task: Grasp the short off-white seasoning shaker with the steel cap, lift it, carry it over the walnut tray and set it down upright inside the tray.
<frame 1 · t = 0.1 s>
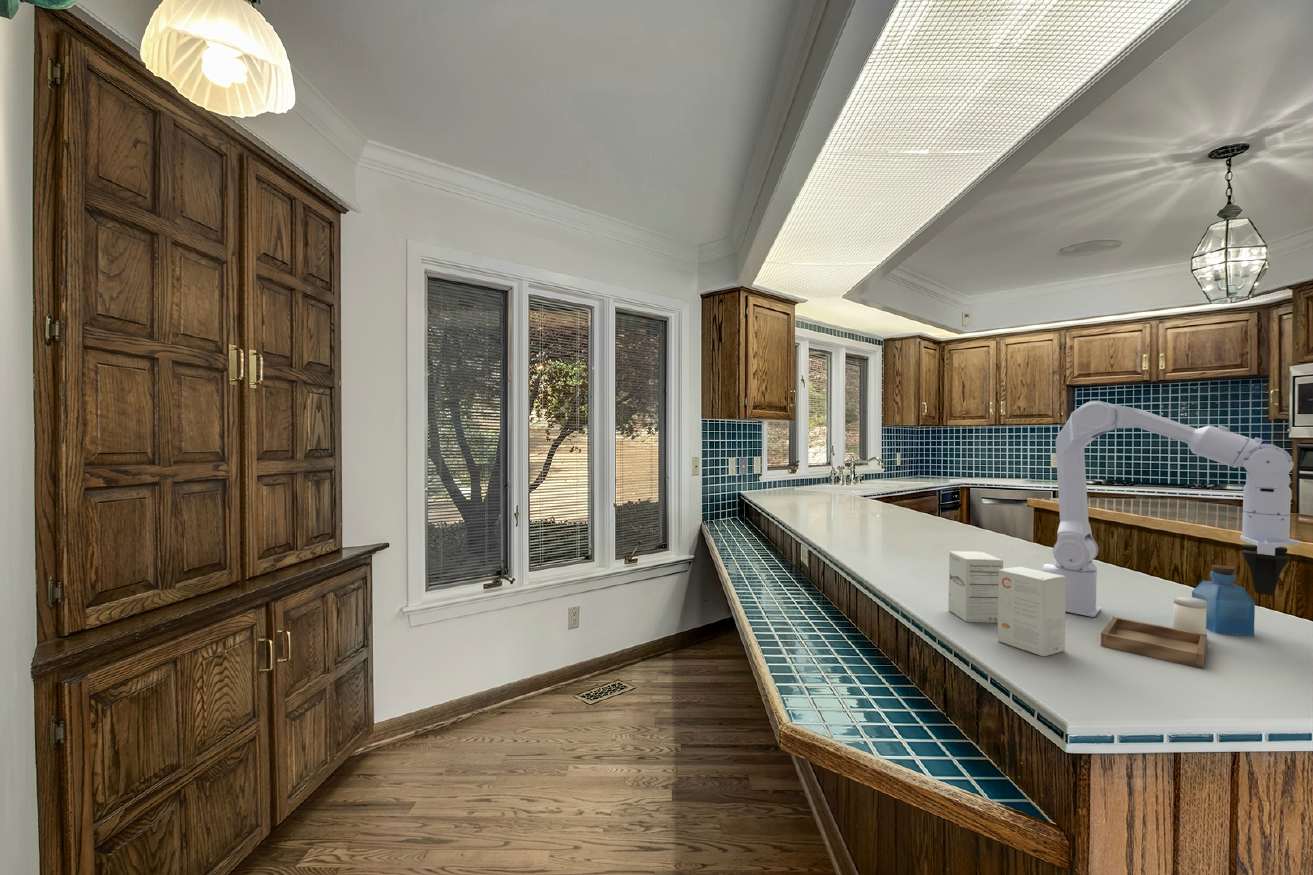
hand: (1263, 589, 101), 10 cm above the counter, tool pointing down, fingers open, 7 cm apart
small box: (1030, 647, 100), on the counter
perfume bottle: (1221, 629, 110), on the counter
shaker: (1189, 637, 105), on the counter
walnut tray: (1153, 646, 100), on the counter
supplement box: (974, 617, 115), on the counter
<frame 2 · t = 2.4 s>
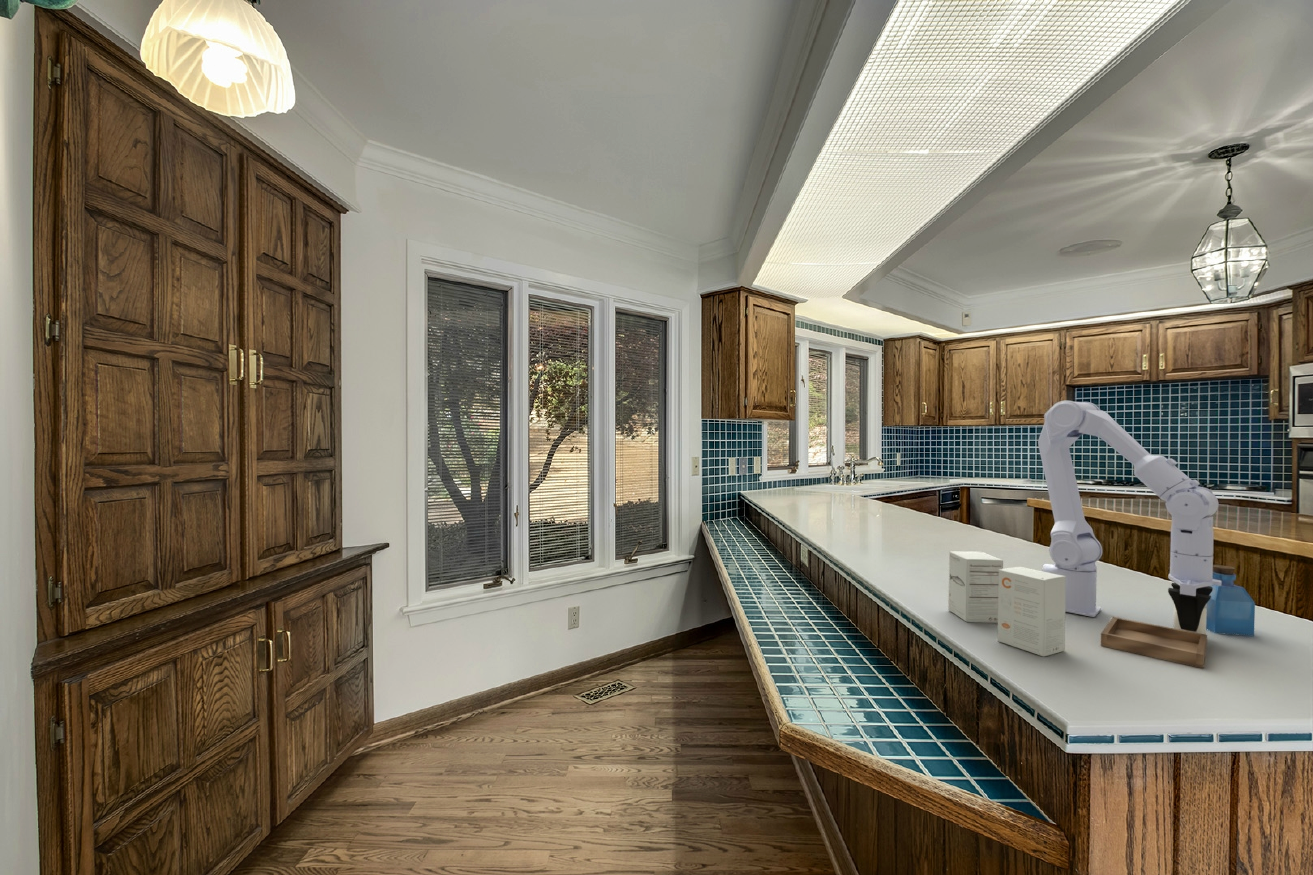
hand: (1189, 626, 105), 2 cm above the counter, tool pointing down, fingers closed on shaker, 4 cm apart
shaker: (1189, 637, 105), on the counter, touching gripper
everything else where it was.
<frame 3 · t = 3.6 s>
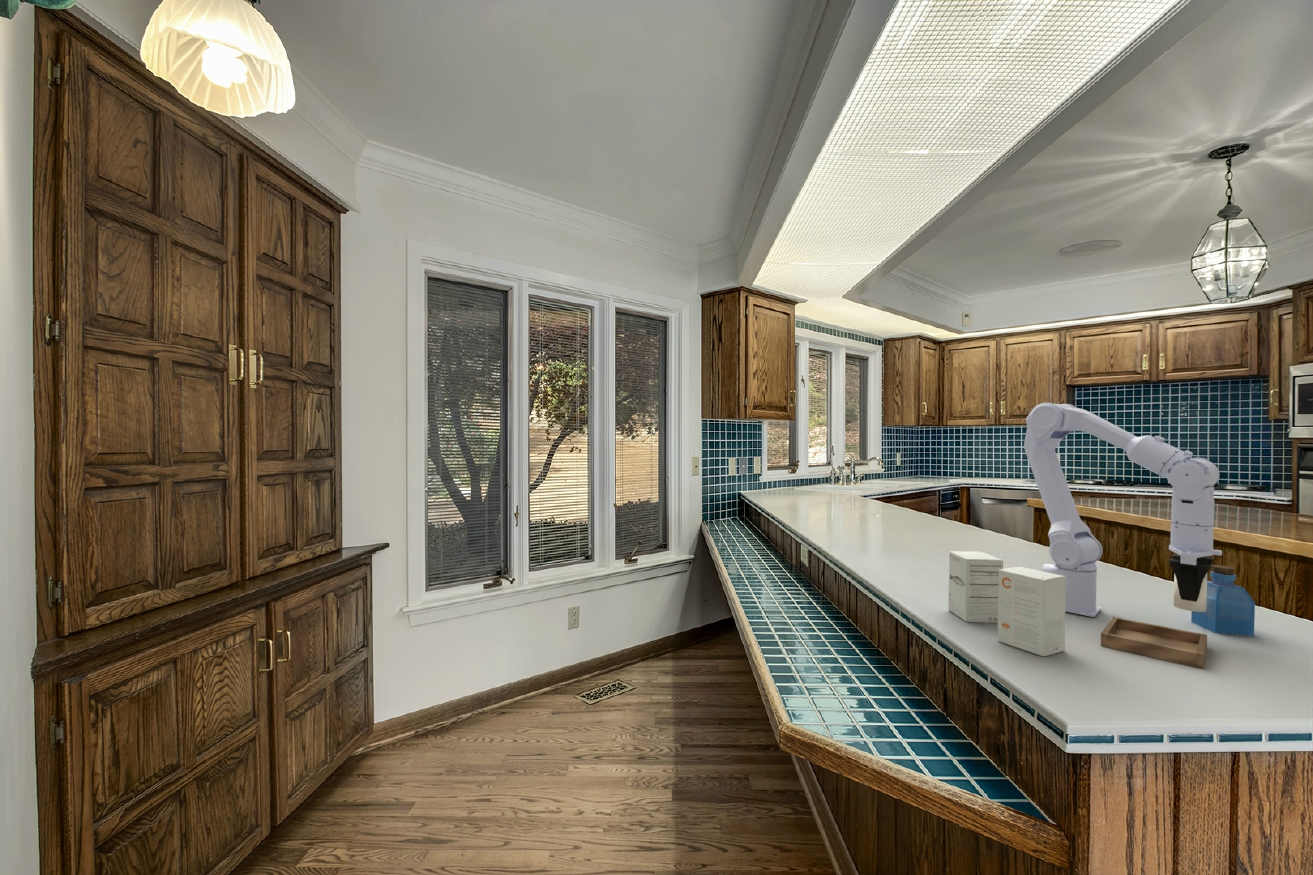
hand: (1189, 597, 105), 7 cm above the counter, tool pointing down, fingers closed on shaker, 4 cm apart
shaker: (1189, 607, 105), point 5 cm above the counter, touching gripper
everything else where it was.
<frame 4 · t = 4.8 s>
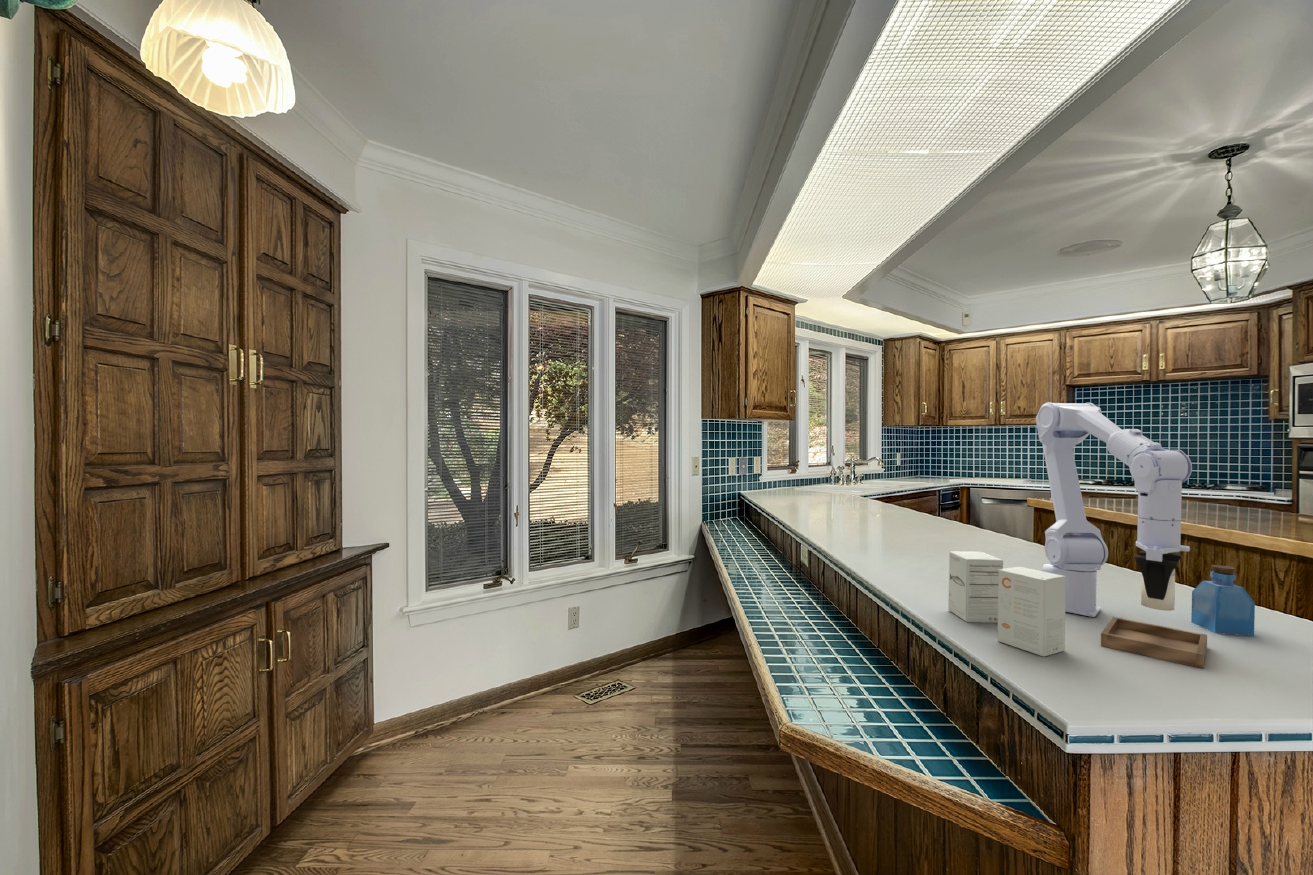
hand: (1157, 595, 100), 9 cm above the counter, tool pointing down, fingers closed on shaker, 4 cm apart
shaker: (1157, 606, 100), point 7 cm above the counter, touching gripper
everything else where it was.
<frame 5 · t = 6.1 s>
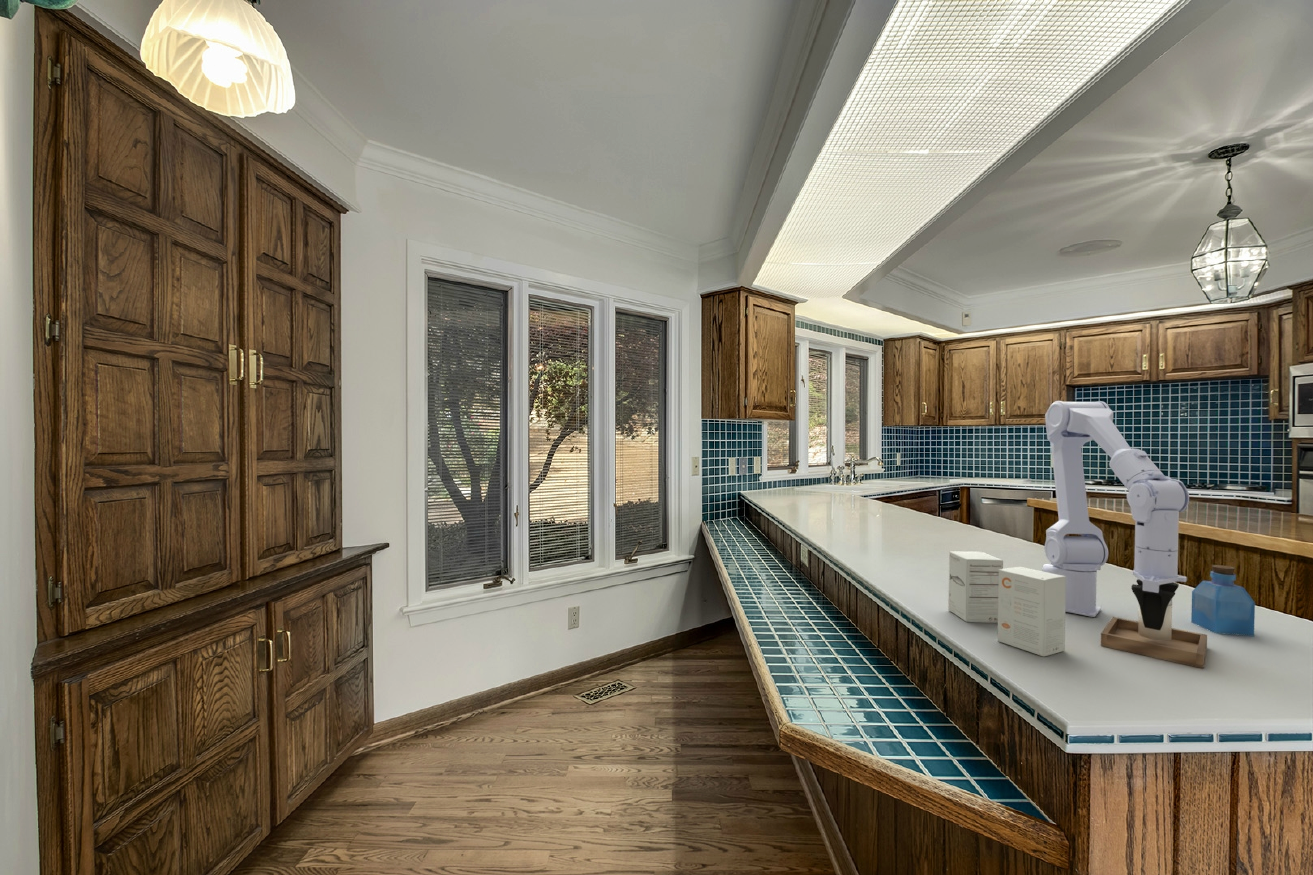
hand: (1154, 625, 100), 4 cm above the counter, tool pointing down, fingers closed on shaker, 4 cm apart
shaker: (1154, 636, 100), point 2 cm above the counter, touching gripper
everything else where it was.
when the fingers open (3 cm above the counter, at t = 7.1 s): shaker stays where it is, resting on walnut tray.
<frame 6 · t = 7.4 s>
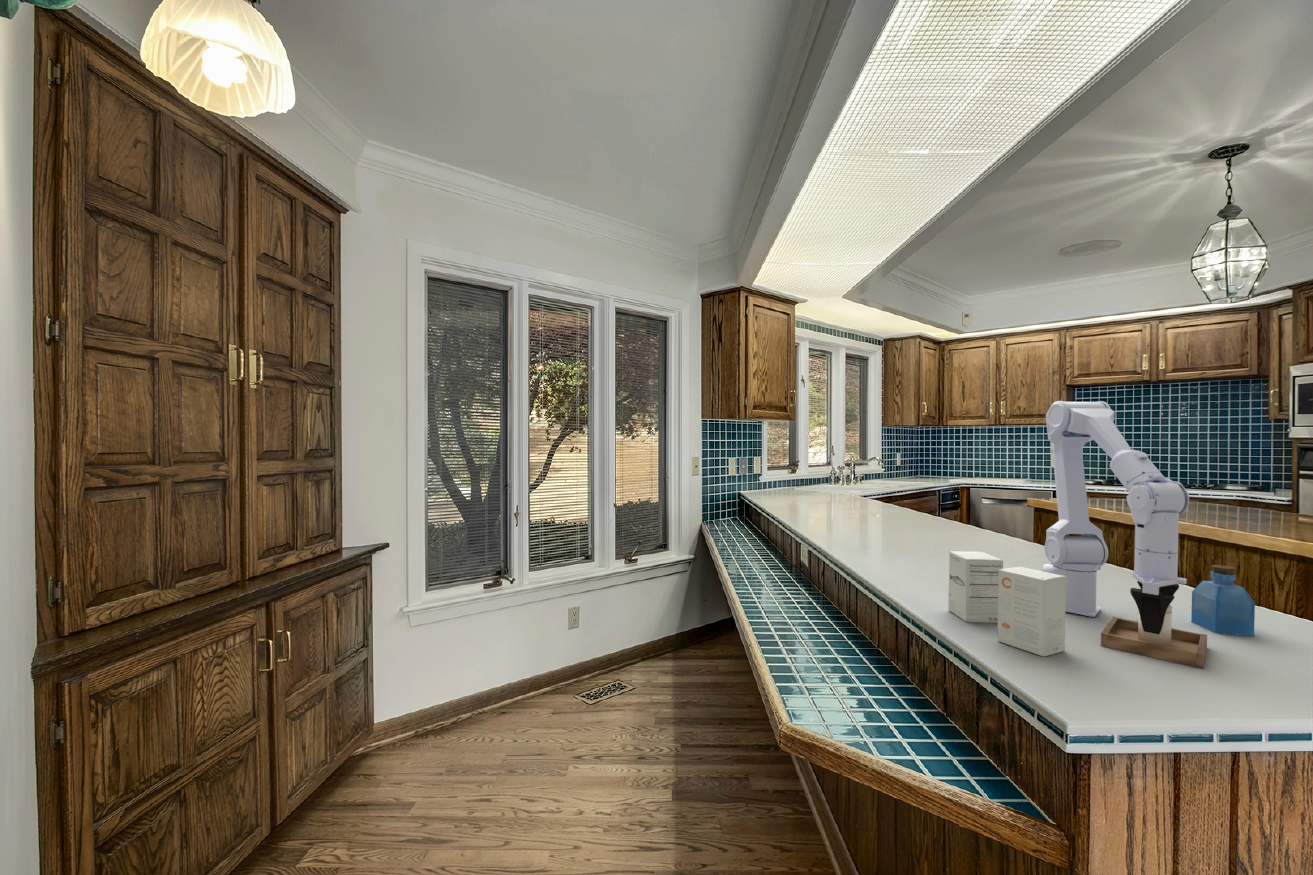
hand: (1154, 627, 100), 3 cm above the counter, tool pointing down, fingers open, 7 cm apart
shaker: (1154, 643, 100), point 1 cm above the counter, touching walnut tray
everything else where it was.
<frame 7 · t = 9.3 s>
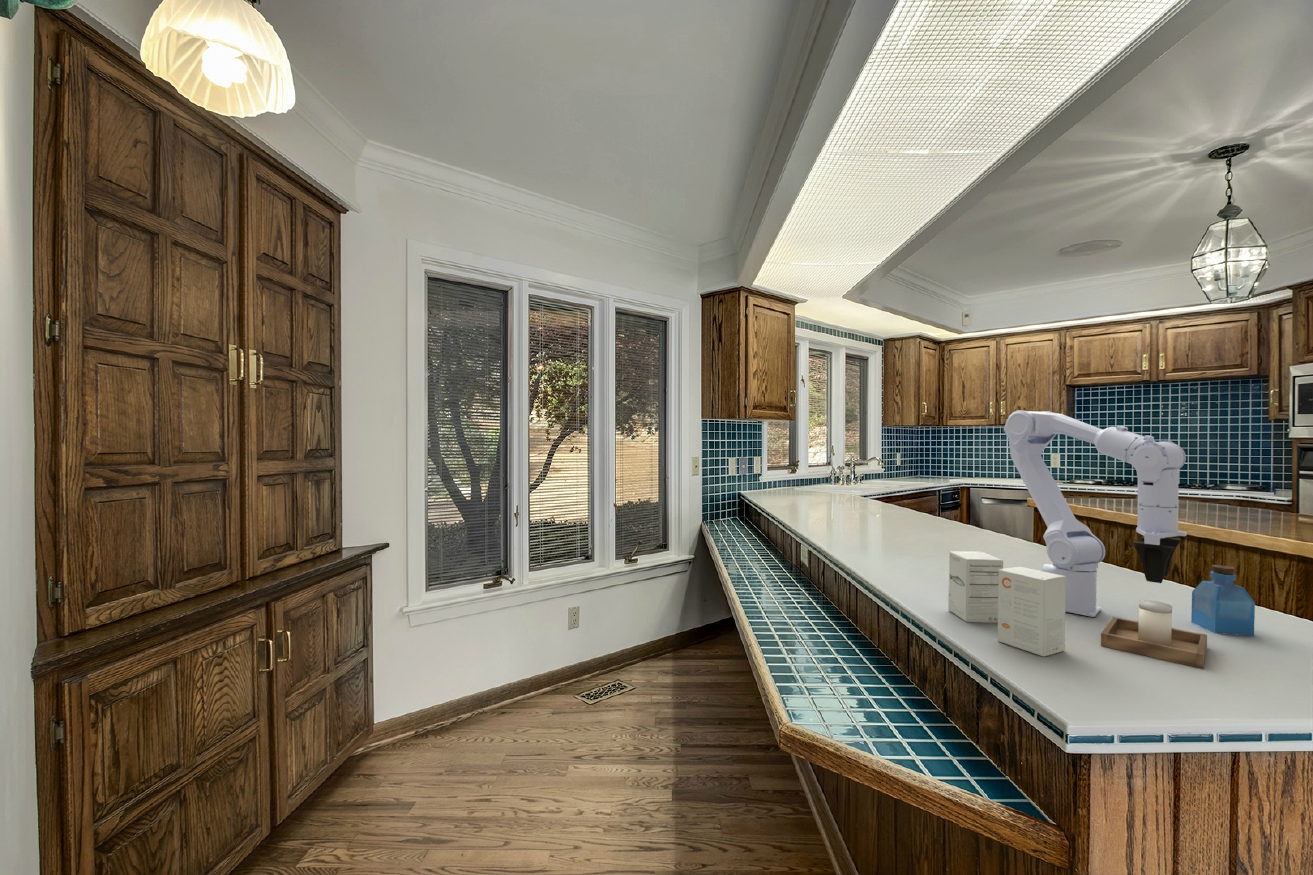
hand: (1157, 578, 107), 10 cm above the counter, tool pointing down, fingers open, 7 cm apart
nothing on the counter moved.
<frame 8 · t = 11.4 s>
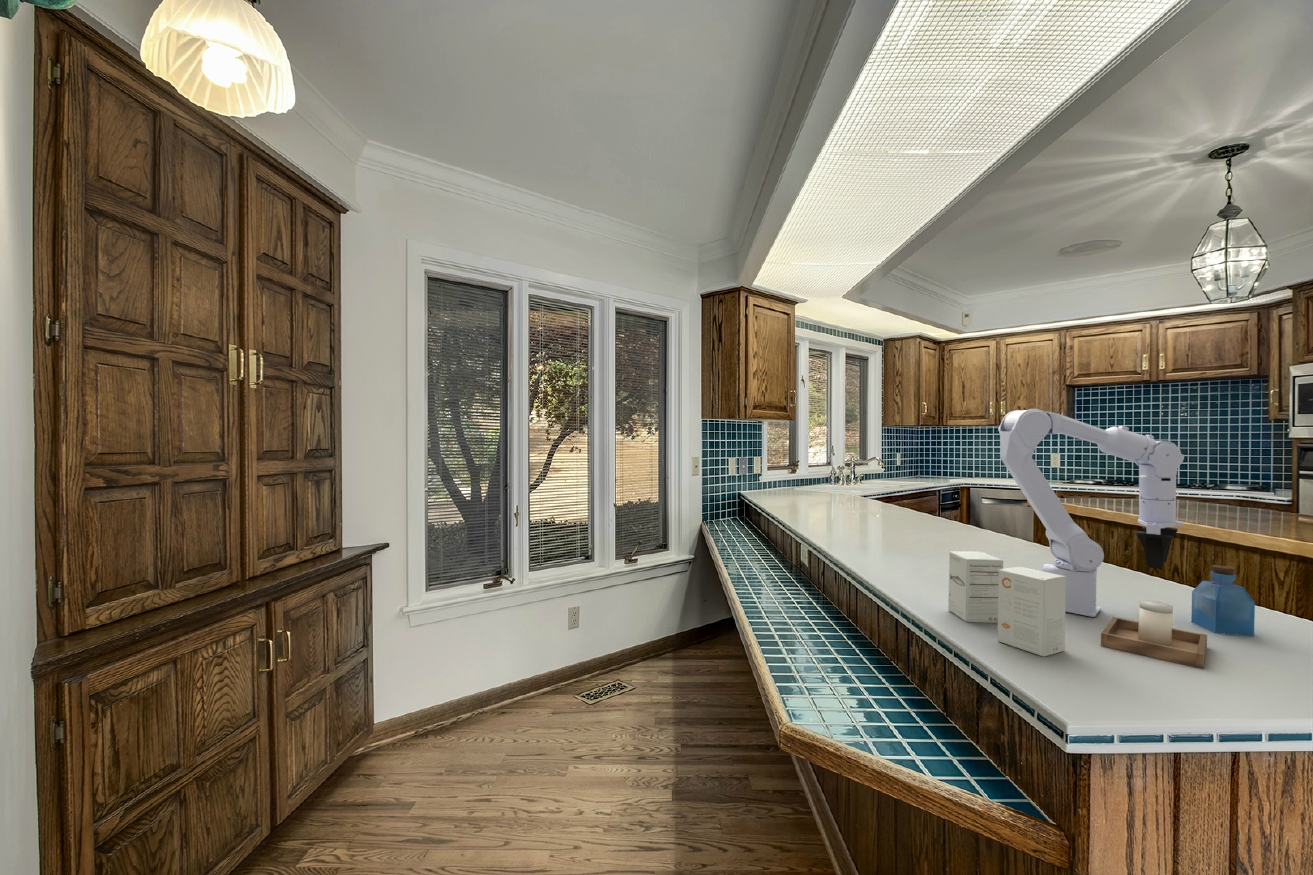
hand: (1157, 564, 117), 10 cm above the counter, tool pointing down, fingers open, 7 cm apart
nothing on the counter moved.
at the end: shaker inside the target area on the walnut tray (0.1 cm from its centre), point 0.5 cm above the walnut tray's base; shaker tilted 1°; the gripper is holding nothing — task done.
